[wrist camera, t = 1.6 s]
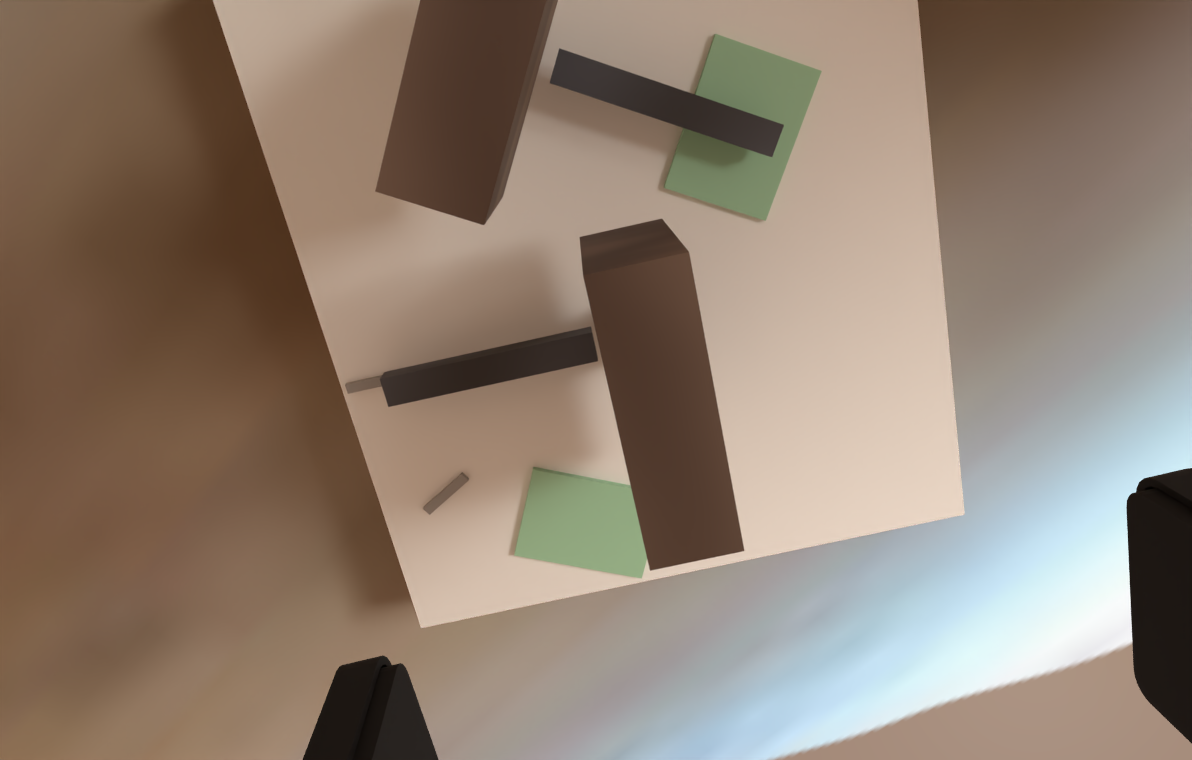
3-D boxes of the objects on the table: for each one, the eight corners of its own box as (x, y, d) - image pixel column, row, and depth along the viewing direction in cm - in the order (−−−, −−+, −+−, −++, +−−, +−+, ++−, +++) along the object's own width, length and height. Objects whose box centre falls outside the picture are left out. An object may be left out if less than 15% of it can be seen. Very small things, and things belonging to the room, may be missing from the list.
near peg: (436, 162, 24) (375, 191, 17) (502, -98, 22) (468, -205, 15) (725, 254, 26) (795, 321, 18) (813, 13, 24) (935, -30, 16)
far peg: (651, 205, 25) (689, 251, 17) (693, 422, 27) (744, 551, 19) (358, 271, 25) (265, 346, 18) (423, 480, 28) (366, 629, 20)
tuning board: (858, -194, 25) (899, -235, 22) (928, 477, 32) (967, 518, 29) (234, -43, 26) (188, -63, 23) (434, 581, 32) (419, 632, 29)
